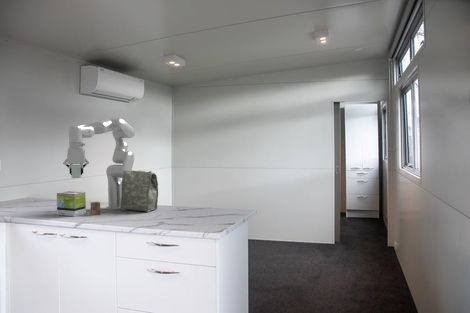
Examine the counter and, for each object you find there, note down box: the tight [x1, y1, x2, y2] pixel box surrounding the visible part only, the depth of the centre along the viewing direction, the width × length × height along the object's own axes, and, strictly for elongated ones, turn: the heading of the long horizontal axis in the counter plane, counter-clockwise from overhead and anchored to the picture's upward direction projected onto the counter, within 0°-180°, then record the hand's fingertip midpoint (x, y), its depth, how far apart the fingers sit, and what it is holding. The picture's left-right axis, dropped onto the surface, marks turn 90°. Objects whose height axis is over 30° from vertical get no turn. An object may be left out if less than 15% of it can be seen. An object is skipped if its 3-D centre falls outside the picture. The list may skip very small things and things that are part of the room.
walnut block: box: [90, 201, 101, 216], centre depth 222 cm, size 5×5×8 cm
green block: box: [71, 164, 82, 179], centre depth 211 cm, size 5×5×8 cm
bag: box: [120, 170, 159, 213], centre depth 236 cm, size 22×16×27 cm
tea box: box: [56, 190, 87, 217], centre depth 223 cm, size 15×10×15 cm, turn 71°
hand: (76, 174), depth 211 cm, fingers closed on green block, 5 cm apart
